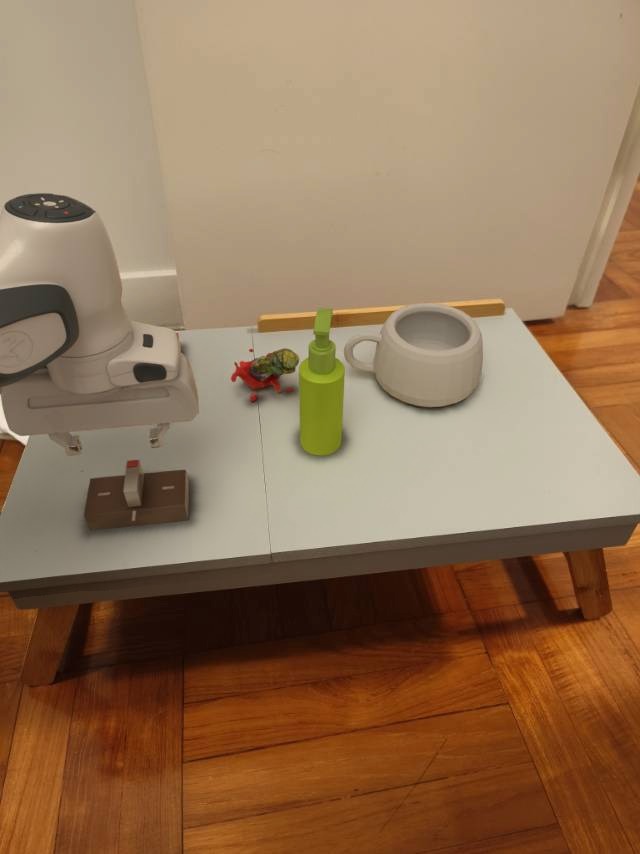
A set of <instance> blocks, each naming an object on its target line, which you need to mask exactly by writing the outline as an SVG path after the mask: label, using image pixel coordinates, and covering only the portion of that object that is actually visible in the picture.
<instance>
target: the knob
mask: <svg viewBox="0 0 640 854" xmlns="http://www.w3.org/2000/svg"><path fill="white" fill-rule="evenodd" d="M125 465H126V466H125V472H124V475H125V481H124V490H123V492H124V495H125V498H126V501H127V504H128V507H136V506H142V496H143V484H144V473H145V472H144V469H143V466H142V463H141V459H129V460H127V461H126V464H125Z"/></svg>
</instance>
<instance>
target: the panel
mask: <svg viewBox="0 0 640 854" xmlns="http://www.w3.org/2000/svg"><path fill="white" fill-rule="evenodd" d="M143 473H144V484H143V496H142V506H136V507H128V504H127V501H126V498H125V495H124V492H123V490H124V481H125V474H123V475H121V474H120V475H112V476H102V477H91V478H90V479H89V484H88V488H87V494H86V500H85V507H84V512H83V517H84V519H85V522H86V524H87V527H88V529H89V531H98V530H109V529H118V528H127V527H136V526H137V527H138V526H146V525H155V524H166V523H175V522H186V521H189V505H190V504H189V502H190V501H189V500H190V498H189V497H190V484H189V479H188V473H187V469H186V468H185V469H176V470H175V469H174V470H164V471H153V472H143Z"/></svg>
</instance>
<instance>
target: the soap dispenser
mask: <svg viewBox="0 0 640 854" xmlns="http://www.w3.org/2000/svg"><path fill="white" fill-rule="evenodd" d="M333 311H334V310H333V308H324V307H323V308H322V307H320V308H317V310H316V314H315V320H314V325H313V335H314V337H315V339H313V340H311V342H309V344H308V357H307V358H305V359H303V360H302V361H301V362H300V363H299V366H298V392H299V393H298V396H299V397H298V398H299V399H298V401H299V402H298V403H299V443H300V446H301V448H303V450H304V451H305V452H307V453H308V454H311V455H314V456H319V457H320V456H322V457H323V456H328V455H332V454H333V453H335V452H336V451H338V450H339V449H340V447H341V445H342V437H343V436H342V435H343V417H344V396H345V395H344V394H345V371H346V369H345V364H344V363H343V362H342V361H341V360H340V359H338V358H336V350H337V347H336V344H335V342H334V341H332V340H331V339H330V330H331V326H332V319H333V318H332V317H333Z"/></svg>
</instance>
